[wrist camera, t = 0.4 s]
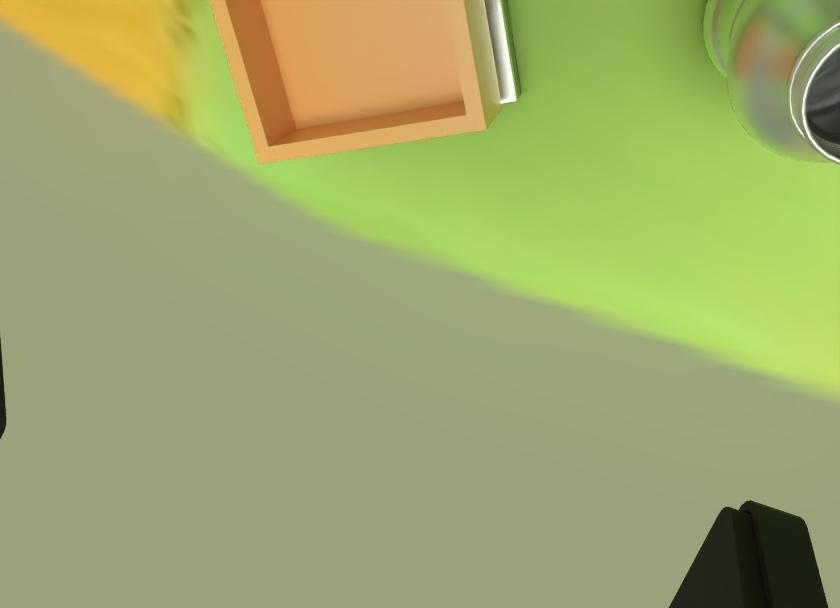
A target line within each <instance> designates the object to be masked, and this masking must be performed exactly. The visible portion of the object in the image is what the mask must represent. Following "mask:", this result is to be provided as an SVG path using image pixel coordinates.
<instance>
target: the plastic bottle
mask: <svg viewBox="0 0 840 608" xmlns="http://www.w3.org/2000/svg"><path fill="white" fill-rule="evenodd" d="M703 36H704V41H705V46H706V50H707V52H708V54H709V57H710V59H711V61H712V63H713V64H714V66H715V67H716V68H717V70H718V71H719V72H720V73H721V74H722V75H723V76H724V77H725V78H727V87H728V92H729V97H730V102H731V105H732V107H733V109H734V112H735V114H736V116H737V118H738V121H739V122H740V123H741V125H742V126H743V127H744V129H745V130H746V131H747V133H748V134H749V135H750V136H751V137H752V138H753V139H755V140H756V141H757V142H758V143H759V144H761V145H762V146H763V147H765V148H766V149H768V150H770V151H772V152H774V153H776V154H778V155H780V156H783V157H787V158H790V159H794V160H797V161H807V162H834V163H836V164H840V0H708V2H707V4H706V9H705V14H704V20H703Z"/></svg>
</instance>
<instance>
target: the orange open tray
mask: <svg viewBox="0 0 840 608" xmlns="http://www.w3.org/2000/svg"><path fill="white" fill-rule="evenodd" d="M210 4H211V7H212V10H213V14H214V17H215V20H216V23H217V27H218V30H219V33H220V37H221V40H222V43H223V46H224V50H225V53H226V56H227V60H228V63H229V66H230V70H231V73H232V76H233V79H234V83H235V86H236V89H237V93H238V96H239V99H240V102H241V106H242V109H243V112H244V116H245V119H246V122H247V125H248V129H249V132H250V135H251V139H252V142H253V145H254V149H255V152H256V155H257V158H258V162H259V164H263V163H270V162H276V161H283V160H290V159H296V158H303V157H309V156H316V155H323V154H329V153H336V152H342V151H349V150H355V149H362V148H369V147H375V146H382V145H388V144H395V143H401V142H408V141H415V140H421V139H428V138H434V137H441V136H447V135H454V134H461V133H467V132H474V131H480V130H486V129H487V128H488V127H489V125H490V124H491V123H492V121H493V120H494V119H495V117H496V116H497V115H498V113H499V112H500V111H501V109H502V104H501V98H500V92H499V86H498V80H497V74H496V68H495V62H494V56H493V50H492V44H491V38H490V32H489V26H488V20H487V14H486V8H485V2H484V0H210Z"/></svg>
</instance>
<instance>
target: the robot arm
mask: <svg viewBox="0 0 840 608" xmlns="http://www.w3.org/2000/svg"><path fill="white" fill-rule="evenodd" d="M5 427H6V408H5V395H4V381H3V367H2V354H1V339H0V438H1V437H2V435H3V433H4V430H5ZM669 608H828V605H827V601H826V597H825V593H824V589H823V585H822V582H821V578H820V574H819V570H818V566H817V563H816V559H815V555H814V551H813V547H812V543H811V540H810V536H809V532H808V528H807V525H806V523H805V521H804V520H803V519H802V518H800V517H798V516H795V515H792V514H790V513H787V512H784V511H780V510H778V509H775V508H771V507H769V506H766V505H763V504H760V503H756V502H754V501H751V500H750V501H746V502H745V503H744V504H743V505H741V507H740V509H739V510H736V509H733V508H730V507H724V508H723V509H722V510H721V512H720V513H719V515H718V517H717V518H716V520H715V522H714V524H713V526H712V528H711V530H710V531H709V533H708V535H707V537H706V539H705V541H704V543H703V545H702V547H701V548H700V550H699V552H698V554H697V556H696V558H695V560H694V562H693V563H692V565H691V567H690V569H689V571H688V573H687V575H686V577H685V578H684V580H683V582H682V584H681V586H680V588H679V590H678V592H677V594H676V595H675V597H674V599H673V601H672V603H671V605H670V607H669Z"/></svg>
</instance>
